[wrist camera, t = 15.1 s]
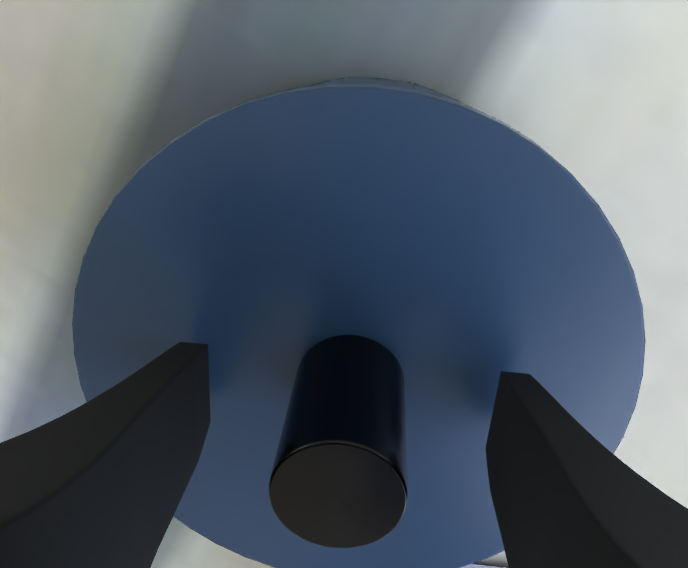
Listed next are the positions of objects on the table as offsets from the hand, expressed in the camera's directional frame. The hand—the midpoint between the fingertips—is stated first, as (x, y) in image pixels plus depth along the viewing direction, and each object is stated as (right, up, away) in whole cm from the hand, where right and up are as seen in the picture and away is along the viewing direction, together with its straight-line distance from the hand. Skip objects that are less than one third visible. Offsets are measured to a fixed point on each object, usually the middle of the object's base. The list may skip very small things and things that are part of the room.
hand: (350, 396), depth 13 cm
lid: (0, 0, +1) cm, 1 cm away
